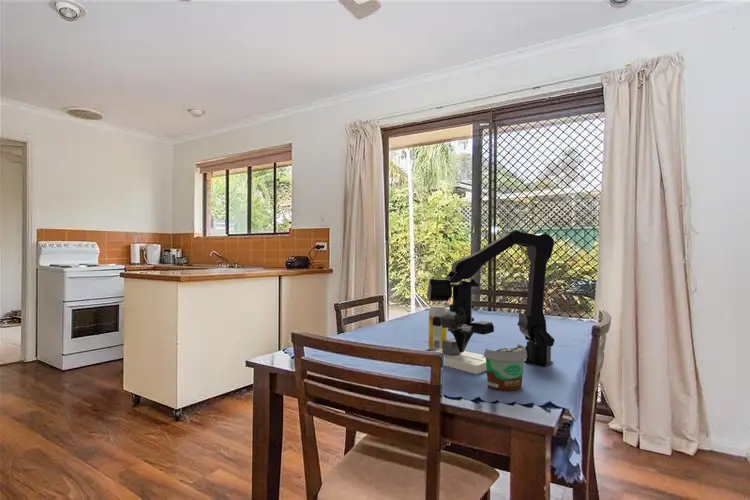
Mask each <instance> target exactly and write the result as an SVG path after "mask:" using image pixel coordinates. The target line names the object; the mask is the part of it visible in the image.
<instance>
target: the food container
mask: <svg viewBox="0 0 750 500" xmlns="http://www.w3.org/2000/svg"><path fill="white" fill-rule="evenodd" d="M525 347H526V346H523V345H521V344H518V343H517V347H512V348H505V347H504V348H500V349H499V348H498V349H497V350H492V349H487V348H485V351H484V353H483V355H484V357H485V358H486V368H487V370H486V381H487V382H486V383H487V388H488V389H490V390H494V391H497V392H506V393H508V392H509V393H511V392H512V393H513V392H518V391H520V390H521V389H522V385H523V374H524V364H525V363H524V361H525V360H526V358H527V353H526V350H525Z"/></svg>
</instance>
